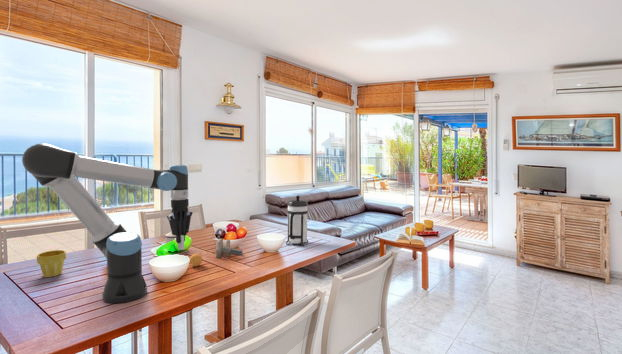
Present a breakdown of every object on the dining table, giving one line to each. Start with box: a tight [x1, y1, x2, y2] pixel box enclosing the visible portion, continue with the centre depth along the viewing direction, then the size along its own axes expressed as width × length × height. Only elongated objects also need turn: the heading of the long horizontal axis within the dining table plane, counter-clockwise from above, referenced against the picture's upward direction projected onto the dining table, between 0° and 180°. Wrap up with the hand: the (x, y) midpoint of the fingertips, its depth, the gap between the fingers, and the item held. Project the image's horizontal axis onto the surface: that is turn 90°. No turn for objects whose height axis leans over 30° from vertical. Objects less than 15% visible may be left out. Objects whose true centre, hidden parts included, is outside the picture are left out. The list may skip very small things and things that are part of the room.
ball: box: [189, 253, 203, 267], centre depth 167 cm, size 6×6×6 cm
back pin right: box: [224, 239, 231, 258], centre depth 183 cm, size 2×2×8 cm
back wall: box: [223, 246, 243, 256], centre depth 189 cm, size 2×16×2 cm, turn 63°
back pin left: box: [217, 238, 224, 256], centre depth 186 cm, size 2×2×8 cm
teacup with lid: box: [164, 231, 176, 244], centre depth 193 cm, size 12×9×12 cm
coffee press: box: [285, 195, 309, 247], centre depth 208 cm, size 17×16×30 cm
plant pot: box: [36, 249, 67, 278], centre depth 152 cm, size 10×10×10 cm
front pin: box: [215, 240, 222, 259], centre depth 181 cm, size 2×2×8 cm
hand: (180, 249), depth 158 cm, fingers closed
